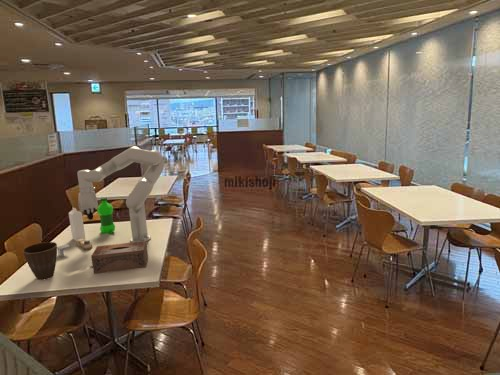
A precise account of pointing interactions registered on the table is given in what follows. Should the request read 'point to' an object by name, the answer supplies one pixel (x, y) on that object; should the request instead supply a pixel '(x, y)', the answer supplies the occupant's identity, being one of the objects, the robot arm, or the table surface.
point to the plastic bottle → (106, 216)
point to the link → (84, 244)
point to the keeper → (61, 248)
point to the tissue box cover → (119, 257)
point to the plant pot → (42, 259)
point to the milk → (76, 224)
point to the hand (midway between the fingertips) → (90, 219)
